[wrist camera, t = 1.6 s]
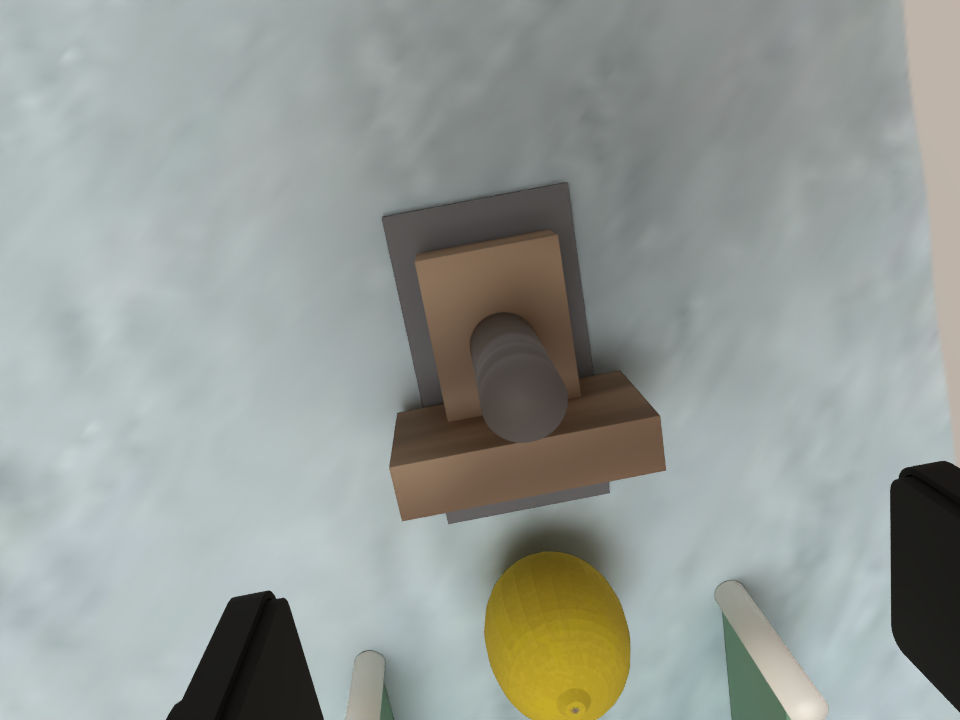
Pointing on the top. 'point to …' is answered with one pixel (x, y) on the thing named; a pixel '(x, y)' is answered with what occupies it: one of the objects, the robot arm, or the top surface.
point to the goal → (750, 663)
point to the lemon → (557, 638)
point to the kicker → (512, 388)
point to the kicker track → (474, 226)
